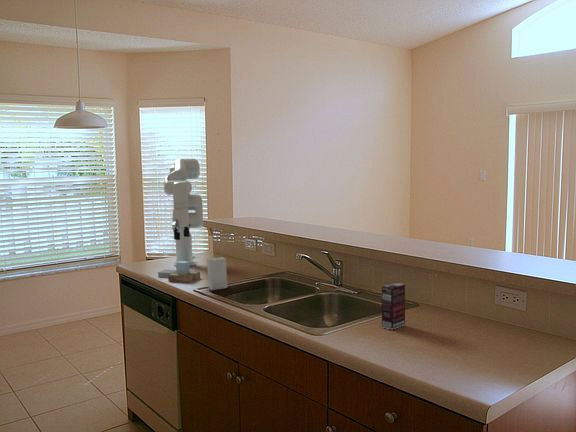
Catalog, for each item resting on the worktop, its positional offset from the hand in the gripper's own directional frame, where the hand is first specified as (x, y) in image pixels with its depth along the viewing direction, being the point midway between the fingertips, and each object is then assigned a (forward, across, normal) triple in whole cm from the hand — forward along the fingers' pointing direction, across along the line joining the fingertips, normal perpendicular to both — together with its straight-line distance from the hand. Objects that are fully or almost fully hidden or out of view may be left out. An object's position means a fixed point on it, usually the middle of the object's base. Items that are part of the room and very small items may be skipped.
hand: (181, 238), depth 276 cm
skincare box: (+22, +13, +27) cm, 37 cm away
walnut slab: (+22, +1, +2) cm, 23 cm away
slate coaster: (+23, -5, -12) cm, 26 cm away
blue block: (+18, +1, +1) cm, 19 cm away
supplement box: (+19, +49, +117) cm, 128 cm away
